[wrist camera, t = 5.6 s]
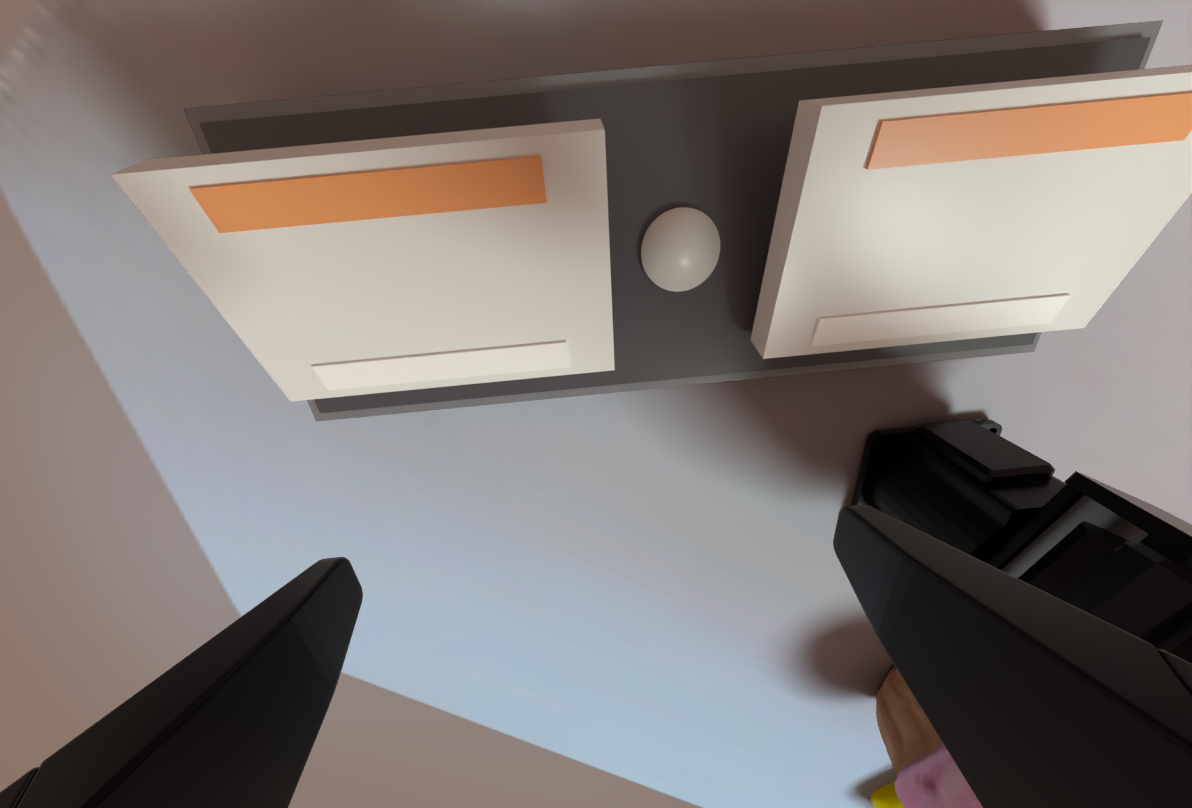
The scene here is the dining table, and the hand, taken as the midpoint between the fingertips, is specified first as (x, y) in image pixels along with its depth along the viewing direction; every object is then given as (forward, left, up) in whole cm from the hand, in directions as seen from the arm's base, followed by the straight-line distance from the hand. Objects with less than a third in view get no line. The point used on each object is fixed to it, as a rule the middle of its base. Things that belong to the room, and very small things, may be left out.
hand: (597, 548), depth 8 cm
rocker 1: (+4, +4, -7) cm, 9 cm away
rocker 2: (+4, -12, -7) cm, 14 cm away
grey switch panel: (+4, -4, -12) cm, 13 cm away
